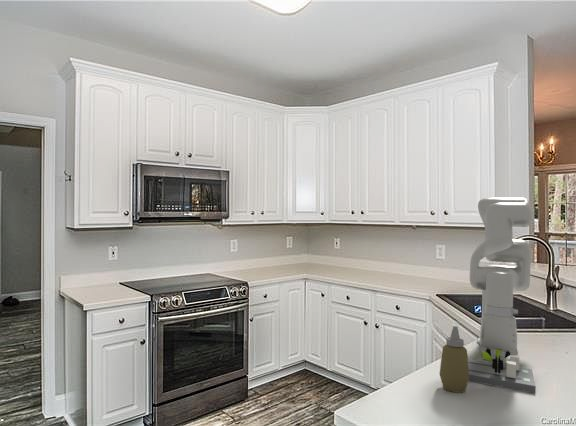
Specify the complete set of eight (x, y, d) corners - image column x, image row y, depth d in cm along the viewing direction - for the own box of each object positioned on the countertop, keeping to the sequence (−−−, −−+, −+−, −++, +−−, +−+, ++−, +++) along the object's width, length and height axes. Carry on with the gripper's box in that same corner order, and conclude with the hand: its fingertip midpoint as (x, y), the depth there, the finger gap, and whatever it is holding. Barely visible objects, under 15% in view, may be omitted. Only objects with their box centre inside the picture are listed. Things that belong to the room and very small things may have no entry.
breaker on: (509, 366, 135) (510, 353, 135) (518, 367, 134) (519, 355, 134) (510, 369, 132) (510, 356, 132) (519, 370, 131) (519, 357, 131)
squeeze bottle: (433, 385, 124) (434, 324, 124) (454, 382, 127) (455, 322, 127) (453, 396, 116) (455, 331, 116) (475, 392, 119) (476, 329, 120)
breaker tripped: (506, 373, 128) (506, 360, 128) (515, 375, 127) (515, 362, 127) (506, 376, 126) (506, 363, 126) (515, 378, 125) (516, 364, 125)
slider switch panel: (457, 362, 144) (458, 356, 144) (531, 375, 134) (531, 368, 134) (453, 378, 130) (453, 371, 130) (535, 393, 120) (535, 385, 120)
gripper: (526, 312, 128) (525, 372, 128) (473, 306, 135) (471, 363, 135) (527, 317, 122) (526, 380, 121) (471, 310, 128) (470, 370, 128)
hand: (497, 371), depth 128 cm, fingers closed
